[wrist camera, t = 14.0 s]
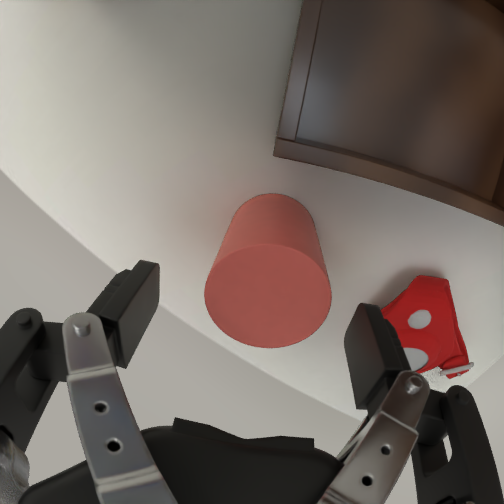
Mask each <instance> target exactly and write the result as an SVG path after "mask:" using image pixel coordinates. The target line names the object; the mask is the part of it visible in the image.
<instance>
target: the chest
mask: <svg viewBox="0 0 504 504" xmlns="http://www.w3.org/2000/svg"><path fill="white" fill-rule="evenodd" d="M273 156H275V157H279V158H284V159H289V160H294V161H298V162H303V163H307V164H312V165H316V166H320V167H325V168H329V169H333V170H337V171H341V172H345V173H348V174H352V175H356V176H360V177H363V178H367V179H370V180H374V181H377V182H381V183H384V184H388V185H391V186H394V187H397V188H401V189H404V190H407V191H410V192H413V193H416V194H419V195H422V196H425V197H428V198H431V199H434V200H437V201H440V202H443V203H445V204H448V205H451V206H454V207H456V208H459V209H462V210H464V211H467V212H469V213H472V214H475V215H477V216H480V217H482V218H484V219H487V220H489V221H492V222H494V223H496V224H499V225H501V226H503V227H504V0H303V2H302V8H301V13H300V18H299V23H298V28H297V33H296V38H295V44H294V49H293V54H292V59H291V64H290V69H289V74H288V79H287V85H286V90H285V95H284V100H283V105H282V110H281V115H280V120H279V125H278V131H277V136H276V141H275V146H274V152H273Z"/></svg>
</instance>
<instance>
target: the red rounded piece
mask: <svg viewBox="0 0 504 504" xmlns="http://www.w3.org/2000/svg"><path fill="white" fill-rule="evenodd" d="M381 312H382V315H383V317H384V319H388V321H389V322H390V323H391V324H392V325H393V326H394V327H395V329H396V332H397V334H398V339H400V341H401V344H402V345H401V346H403V349H404V351H405V354H406V357H407V359H408V362H409V364H410V367H411V370H412V371H415V372H417V373H419V374H420V373H423V372H426V371H428V370H431V369H433V368H435V367H437V366H439V367H440V368H441V369H442V371H440V376H443V375H446V376H447V377H448V378H449V379H451V378H453V377H456V376H461V375H462V374H464V373H465V372H468V371H469V369H471V368H472V367H473V366H474V363H473V362H471V363H469V359H468V354H467V350H466V346H465V343H464V341H463V338H462V335H461V333H460V330H459V327H458V322H457V317H456V312H455V308H454V303H453V299H452V295H451V291H450V285H449V281H448V280H447V279H444V278H437V277H431V276H424V275H419V276H417V277H416V278H415V279H414V280H413V281H412V282H411V284H410V285H409V286H408V288H407V289H406V290H404V291H403V292H402V293H401V294H400V295H399V296H397V297H396V298H395V299H394V300H393V301H392V302H391V303H390V304H388V305H387V306H386V307H384V308H383V309H381Z"/></svg>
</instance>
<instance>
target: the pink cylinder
mask: <svg viewBox="0 0 504 504" xmlns="http://www.w3.org/2000/svg"><path fill="white" fill-rule="evenodd" d="M204 297H205V304H206V307H207V310H208V312H209V315H210V317H211V318H212V320H213V321H214V323H215V324H216V325H217V326H218V327H219V328H220V329H221V330H222V331H223V332H224V333H225V334H227V335H228V336H230V337H231V338H233V339H235V340H237V341H239V342H241V343H244V344H247V345H250V346H254V347H261V348H279V347H285V346H289V345H293V344H295V343H298V342H300V341H302V340H304V339H306V338H307V337H309V336H310V335H312V334H313V333H314V332H315V331H316V330H317V329H318V328H319V327H320V326H321V325H322V323H323V322H324V320H325V319H326V317H327V315H328V313H329V310H330V306H331V300H332V296H331V287H330V283H329V279H328V275H327V271H326V267H325V263H324V259H323V255H322V251H321V248H320V244H319V240H318V236H317V233H316V229H315V226H314V222H313V220H312V217H311V215H310V214H309V212H308V211H307V210H306V208H305V207H304V206H303V205H302V204H300V203H299V202H298V201H296V200H294V199H293V198H290V197H288V196H285V195H281V194H263V195H259V196H256V197H254V198H252V199H250V200H248V201H247V202H245V203H244V204H243V205H242V206H241V207H240V208H239V209H238V210H237V212H236V213H235V215H234V217H233V219H232V221H231V224H230V226H229V228H228V231H227V233H226V235H225V237H224V240H223V242H222V245H221V247H220V249H219V252H218V254H217V256H216V259H215V261H214V263H213V266H212V268H211V271H210V273H209V275H208V278H207V281H206V284H205V292H204Z"/></svg>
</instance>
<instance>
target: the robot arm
mask: <svg viewBox="0 0 504 504" xmlns="http://www.w3.org/2000/svg"><path fill="white" fill-rule="evenodd" d="M159 282H160V267H159V264H158V263H153V262H149V261H144V260H140V261H139V262H138V263H137V264H136V265H135V267H134V268H133V269H132V270H127V269H125V270H124V271H122V272H120V273H118V274H116V275H115V277H114V278H113V279H112V280H111V281H110V283H109V284H108V285H107V286H106V287H105V289H104V291H102V292H101V294H100V295H99V296H98V297H97V299H96V300H95V301H94V302H93V304H92V305H91V306H90V308H89V309H88V310H87V311H86V312H81V313H76V314H73V315H71V316H70V317H68V318H67V319H66V320H65V321H64V323H55V322H44V321H43V319H42V315H41V313H40V312H39V311H37V310H36V309H33V308H23V309H20V310H18V311H16V312H15V313H13V314H12V315H11V316H10V318H9V319H8V320H7V321H6V322H5V324H4V325H3V326H2V328H1V329H0V504H384V503H385V501H386V500H387V498H388V496H389V494H390V493H391V491H392V489H393V487H394V486H395V484H396V482H397V480H398V478H399V476H400V474H401V472H402V471H403V468H404V467H405V465H406V462H407V460H408V458H409V456H410V454H411V456H412V462H413V469H414V476H415V483H416V491H417V500H418V504H504V499H503V494H502V489H501V485H500V481H499V476H498V472H497V468H496V464H495V461H494V457H493V454H492V450H491V447H490V444H489V440H488V437H487V434H486V431H485V428H484V425H483V422H482V419H481V417H480V414H479V411H478V408H477V406H476V403H475V401H474V398H473V396H472V394H471V393H470V392H469V391H468V390H467V389H466V388H464V387H462V386H459V385H454V386H451V387H450V388H449V389H448V390H447V392H446V393H442V392H439V391H435V390H432V389H430V387H429V384H428V382H427V380H426V379H425V378H424V377H423V376H422V375H421V374H419V373H417V372H415V371H412V370H411V367H410V364H409V362H408V359H407V357H406V354H405V351H404V349H403V346H401V345H402V344H401V341H400V339H398V334H397V332H396V329H395V327H394V326H393V325H392V324H391V323H390V322H389V321H388V319H384V317H383V315H382V312H381V310H380V307H379V306H378V305H372V304H365V303H360V304H359V305H358V307H357V309H356V311H355V313H354V316H353V318H352V320H351V322H350V324H349V326H348V328H347V331H346V333H345V337H344V348H345V352H346V357H347V362H348V367H349V372H350V377H351V383H352V388H353V393H354V399H355V404H356V409H363V410H367V411H368V415H367V416H366V417H365V418H364V420H363V421H362V423H361V424H360V426H359V427H358V429H357V430H356V431H355V433H354V434H353V436H352V437H351V439H350V440H349V441H348V443H347V444H346V446H345V447H344V448H343V450H342V451H341V452H340V453H339V454H338V455H337V457H336V458H335V457H334V456H332V455H330V454H329V453H327V452H325V451H322V450H320V449H317V448H314V438H299V437H288V436H275V437H266V438H256V439H243V438H240V437H237V436H235V435H232V434H230V433H227V432H225V431H222V430H220V429H218V428H215V427H213V426H210V425H207V424H202V423H198V422H193V421H189V420H184V419H180V418H176V417H175V419H174V423H173V426H157V427H151V428H148V429H144V430H141V431H140V430H139V427H138V425H137V423H136V420H135V418H134V415H133V413H132V411H131V408H130V405H129V403H128V400H127V398H126V395H125V392H124V389H123V387H122V384H121V381H120V378H119V375H118V372H117V369H116V366H119V367H122V368H125V369H126V368H127V366H128V364H129V362H130V360H131V358H132V356H133V354H134V352H135V350H136V348H137V346H138V344H139V342H140V340H141V338H142V336H143V334H144V332H145V331H146V328H147V327H148V325H149V323H150V321H151V319H152V317H153V315H154V313H155V312H156V309H157V306H158V303H159ZM59 381H61V382H67V386H68V391H69V396H70V401H71V405H72V410H73V413H74V418H75V422H76V425H77V430H78V433H79V437H80V440H81V444H82V447H83V450H84V454H85V457H86V460H85V461H83V462H81V463H79V464H77V465H75V466H73V467H71V468H69V469H67V470H65V471H62V472H61V473H58V474H56V475H54V476H52V477H50V478H47V479H46V480H43V481H41V482H39V483H36V484H34V485H32V486H29V483H28V478H29V469H30V467H29V461H28V458H27V456H26V455H25V451H26V448H27V446H28V444H29V442H30V439H31V437H32V435H33V433H34V430H35V428H36V426H37V424H38V422H39V420H40V418H41V416H42V414H43V411H44V409H45V407H46V405H47V403H48V401H49V399H50V397H51V395H52V394H53V392H54V390H55V388H56V386H57V384H58V382H59ZM447 435H448V436H449V440H450V444H451V448H452V456H451V459H450V461H449V462H448V459H447V455H446V450H445V447H444V442H443V439H444V438H445V437H446V436H447Z"/></svg>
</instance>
